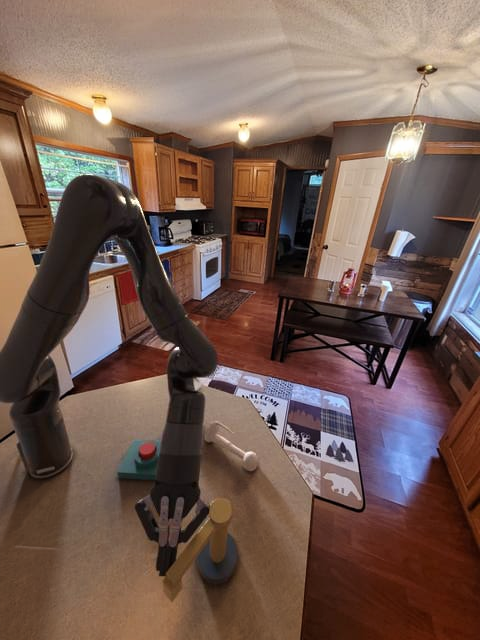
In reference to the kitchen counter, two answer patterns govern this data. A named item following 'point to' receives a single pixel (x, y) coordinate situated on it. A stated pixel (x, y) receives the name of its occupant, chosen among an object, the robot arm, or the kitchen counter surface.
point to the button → (147, 450)
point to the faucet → (230, 445)
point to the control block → (139, 462)
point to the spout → (197, 546)
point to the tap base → (218, 558)
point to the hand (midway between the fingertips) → (165, 573)
